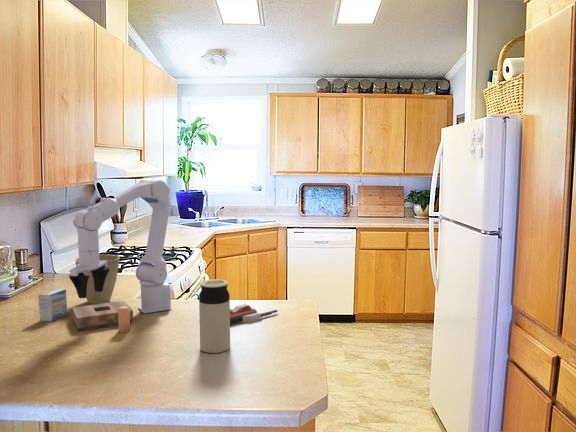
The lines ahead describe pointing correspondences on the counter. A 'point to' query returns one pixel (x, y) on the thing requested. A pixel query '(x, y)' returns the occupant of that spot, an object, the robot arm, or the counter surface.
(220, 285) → the travel mug
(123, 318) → the peg
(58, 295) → the medicine box
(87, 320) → the socket board
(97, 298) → the plant pot
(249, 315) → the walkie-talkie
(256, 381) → the counter surface
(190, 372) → the counter surface
